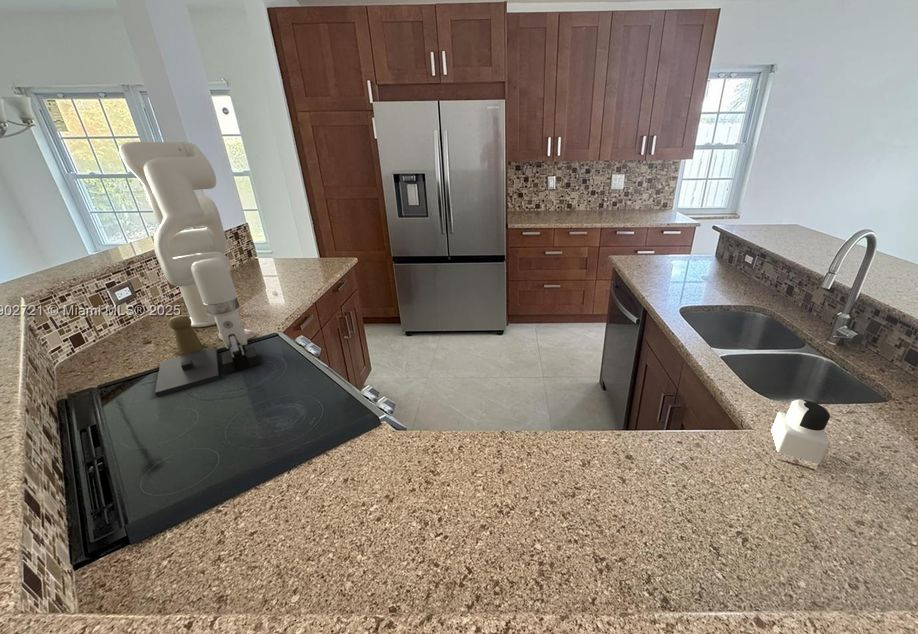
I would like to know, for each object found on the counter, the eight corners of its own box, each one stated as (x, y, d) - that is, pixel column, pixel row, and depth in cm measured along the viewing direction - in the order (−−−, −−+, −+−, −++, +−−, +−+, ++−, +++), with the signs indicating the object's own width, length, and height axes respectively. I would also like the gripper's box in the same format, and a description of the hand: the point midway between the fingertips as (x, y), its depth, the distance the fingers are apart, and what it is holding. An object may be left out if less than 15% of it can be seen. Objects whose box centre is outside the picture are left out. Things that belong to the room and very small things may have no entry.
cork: (208, 344, 116) (196, 313, 111) (191, 354, 110) (178, 322, 106) (190, 343, 116) (177, 312, 112) (173, 353, 111) (159, 320, 106)
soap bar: (240, 344, 116) (238, 337, 115) (219, 340, 119) (216, 333, 118) (255, 336, 121) (253, 329, 120) (234, 332, 123) (232, 326, 122)
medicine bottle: (807, 446, 78) (828, 401, 73) (817, 471, 72) (841, 423, 67) (767, 436, 81) (785, 391, 76) (773, 459, 75) (793, 412, 70)
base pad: (162, 364, 105) (158, 356, 104) (217, 351, 112) (214, 342, 111) (156, 396, 92) (152, 387, 91) (219, 378, 99) (216, 369, 98)
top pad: (225, 363, 106) (221, 354, 105) (257, 355, 110) (254, 346, 109) (226, 373, 102) (222, 364, 100) (259, 364, 106) (256, 355, 105)
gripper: (241, 312, 94) (260, 372, 102) (236, 292, 107) (253, 346, 114) (205, 320, 90) (227, 381, 97) (204, 298, 103) (224, 354, 110)
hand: (241, 362), depth 106 cm, fingers closed on top pad, 6 cm apart
